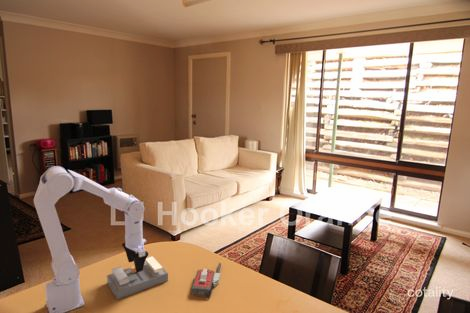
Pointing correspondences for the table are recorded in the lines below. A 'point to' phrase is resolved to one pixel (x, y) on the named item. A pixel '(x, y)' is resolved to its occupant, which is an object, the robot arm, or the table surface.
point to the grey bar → (120, 275)
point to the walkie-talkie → (205, 282)
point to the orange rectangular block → (133, 269)
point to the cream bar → (153, 264)
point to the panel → (136, 281)
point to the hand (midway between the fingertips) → (135, 266)
